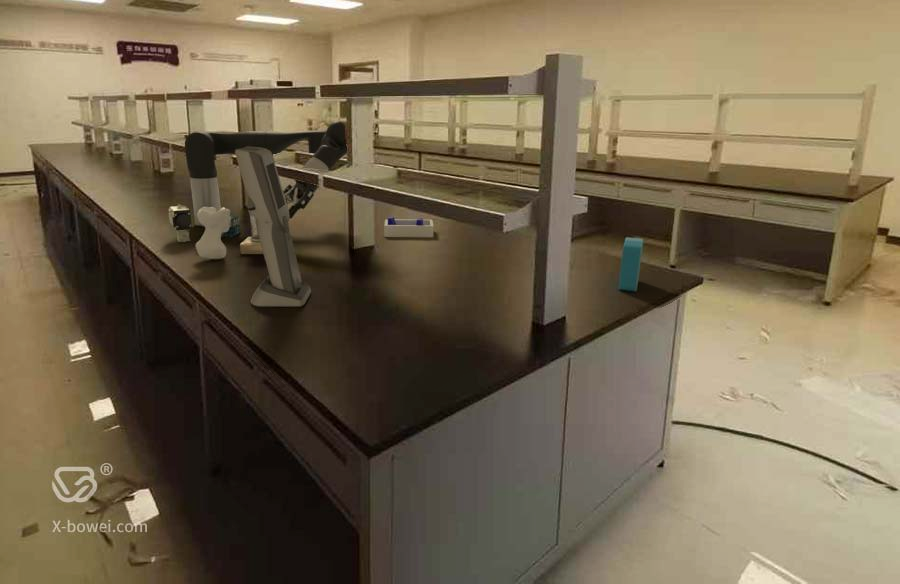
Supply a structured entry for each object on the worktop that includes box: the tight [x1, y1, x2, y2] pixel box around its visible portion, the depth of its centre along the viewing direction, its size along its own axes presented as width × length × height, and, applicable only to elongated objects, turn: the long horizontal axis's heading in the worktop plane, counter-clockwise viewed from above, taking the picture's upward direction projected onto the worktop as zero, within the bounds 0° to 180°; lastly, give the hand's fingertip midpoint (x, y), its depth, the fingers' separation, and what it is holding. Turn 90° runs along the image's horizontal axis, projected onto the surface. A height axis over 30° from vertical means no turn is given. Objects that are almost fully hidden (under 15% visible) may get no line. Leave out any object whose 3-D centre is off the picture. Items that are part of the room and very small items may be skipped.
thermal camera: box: [234, 146, 312, 308], centre depth 133 cm, size 12×13×35 cm
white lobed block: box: [195, 207, 231, 260], centre depth 168 cm, size 10×11×15 cm
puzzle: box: [221, 215, 242, 237], centre depth 199 cm, size 6×6×6 cm
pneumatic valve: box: [168, 204, 193, 243], centre depth 188 cm, size 6×12×12 cm, turn 32°
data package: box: [618, 237, 644, 292], centre depth 152 cm, size 12×4×12 cm, turn 161°
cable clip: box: [387, 216, 424, 225], centre depth 206 cm, size 12×4×6 cm, turn 79°
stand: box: [239, 236, 264, 255], centre depth 181 cm, size 10×10×3 cm
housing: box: [249, 214, 260, 242], centre depth 179 cm, size 6×6×12 cm
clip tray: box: [383, 218, 434, 238], centre depth 207 cm, size 11×17×4 cm, turn 94°
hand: (281, 214), depth 182 cm, fingers open, 8 cm apart
